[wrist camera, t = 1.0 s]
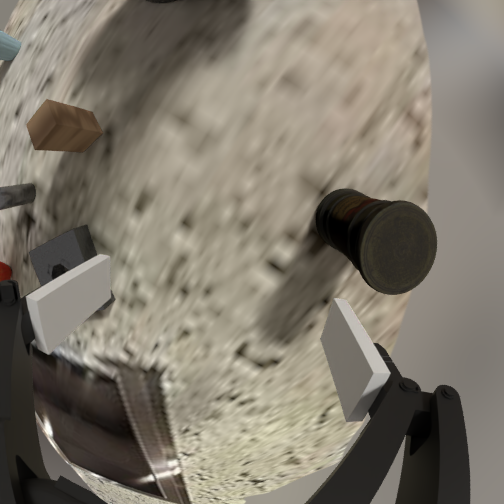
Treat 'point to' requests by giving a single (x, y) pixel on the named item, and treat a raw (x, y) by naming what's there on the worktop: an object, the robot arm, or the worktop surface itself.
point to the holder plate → (64, 256)
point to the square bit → (62, 128)
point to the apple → (5, 272)
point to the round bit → (16, 195)
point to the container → (379, 238)
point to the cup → (8, 47)
